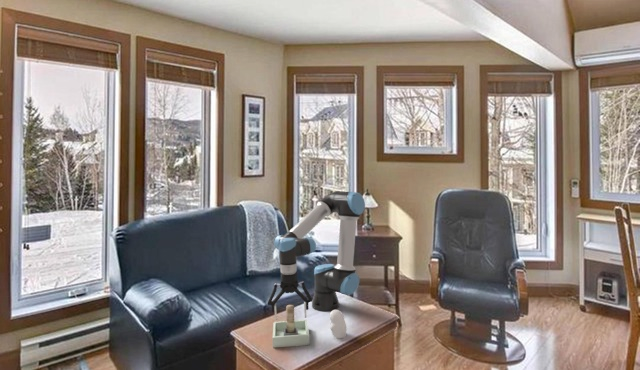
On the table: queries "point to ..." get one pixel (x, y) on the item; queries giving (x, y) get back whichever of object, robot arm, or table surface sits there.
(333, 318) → the figurine
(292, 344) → the green square socket tray
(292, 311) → the beige wooden dowel
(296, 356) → the table surface
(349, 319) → the table surface
